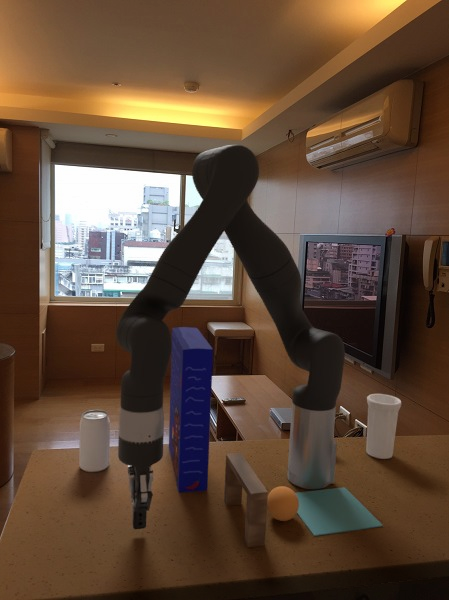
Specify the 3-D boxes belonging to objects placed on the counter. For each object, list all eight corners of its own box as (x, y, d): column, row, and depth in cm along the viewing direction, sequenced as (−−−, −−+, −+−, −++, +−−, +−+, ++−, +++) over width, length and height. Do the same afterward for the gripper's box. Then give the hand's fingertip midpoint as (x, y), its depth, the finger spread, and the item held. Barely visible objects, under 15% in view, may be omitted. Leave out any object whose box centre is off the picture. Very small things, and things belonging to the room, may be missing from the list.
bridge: (238, 498, 97) (240, 452, 96) (264, 545, 83) (267, 491, 82) (224, 500, 97) (226, 454, 95) (248, 547, 82) (251, 493, 81)
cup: (401, 462, 117) (406, 405, 115) (367, 461, 117) (372, 403, 115) (390, 448, 125) (395, 394, 123) (358, 446, 125) (363, 392, 123)
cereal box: (207, 490, 100) (213, 348, 96) (178, 492, 99) (183, 348, 95) (192, 445, 121) (197, 326, 117) (168, 446, 120) (172, 326, 116)
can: (101, 474, 105) (102, 421, 103) (73, 470, 106) (74, 418, 104) (114, 461, 111) (114, 411, 109) (88, 457, 112) (88, 407, 111)
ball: (266, 479, 93) (259, 508, 93) (276, 495, 87) (269, 526, 88) (295, 481, 94) (288, 510, 95) (307, 498, 89) (299, 528, 89)
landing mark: (344, 488, 103) (344, 487, 103) (382, 526, 90) (383, 525, 90) (283, 495, 100) (283, 494, 100) (314, 536, 86) (314, 535, 86)
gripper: (169, 446, 77) (166, 547, 79) (157, 415, 90) (155, 503, 92) (121, 449, 75) (119, 553, 77) (116, 418, 87) (114, 508, 90)
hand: (139, 526), depth 84 cm, fingers closed
